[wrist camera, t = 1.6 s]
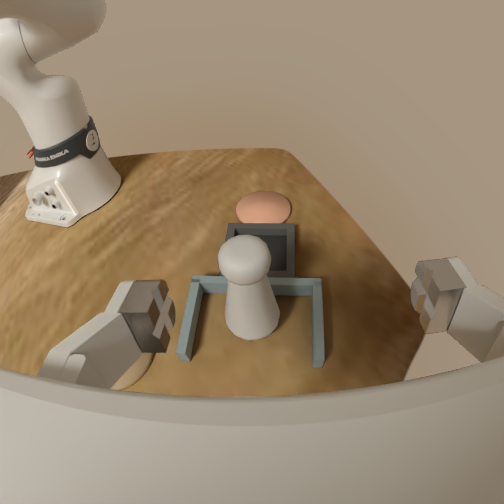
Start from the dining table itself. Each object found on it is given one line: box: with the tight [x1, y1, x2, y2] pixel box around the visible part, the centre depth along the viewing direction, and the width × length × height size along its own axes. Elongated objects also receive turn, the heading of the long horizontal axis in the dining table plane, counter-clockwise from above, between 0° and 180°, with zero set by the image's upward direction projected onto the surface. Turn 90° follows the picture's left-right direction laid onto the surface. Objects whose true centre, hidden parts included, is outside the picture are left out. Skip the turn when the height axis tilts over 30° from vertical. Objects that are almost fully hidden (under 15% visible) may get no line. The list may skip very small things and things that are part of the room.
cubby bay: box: [176, 275, 325, 368], centre depth 34 cm, size 10×15×2 cm, turn 85°
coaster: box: [236, 191, 290, 223], centre depth 47 cm, size 8×8×1 cm
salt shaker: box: [218, 235, 280, 341], centre depth 30 cm, size 6×6×13 cm
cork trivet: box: [110, 353, 153, 390], centre depth 33 cm, size 10×10×1 cm
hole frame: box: [219, 223, 295, 278], centre depth 41 cm, size 9×9×2 cm
